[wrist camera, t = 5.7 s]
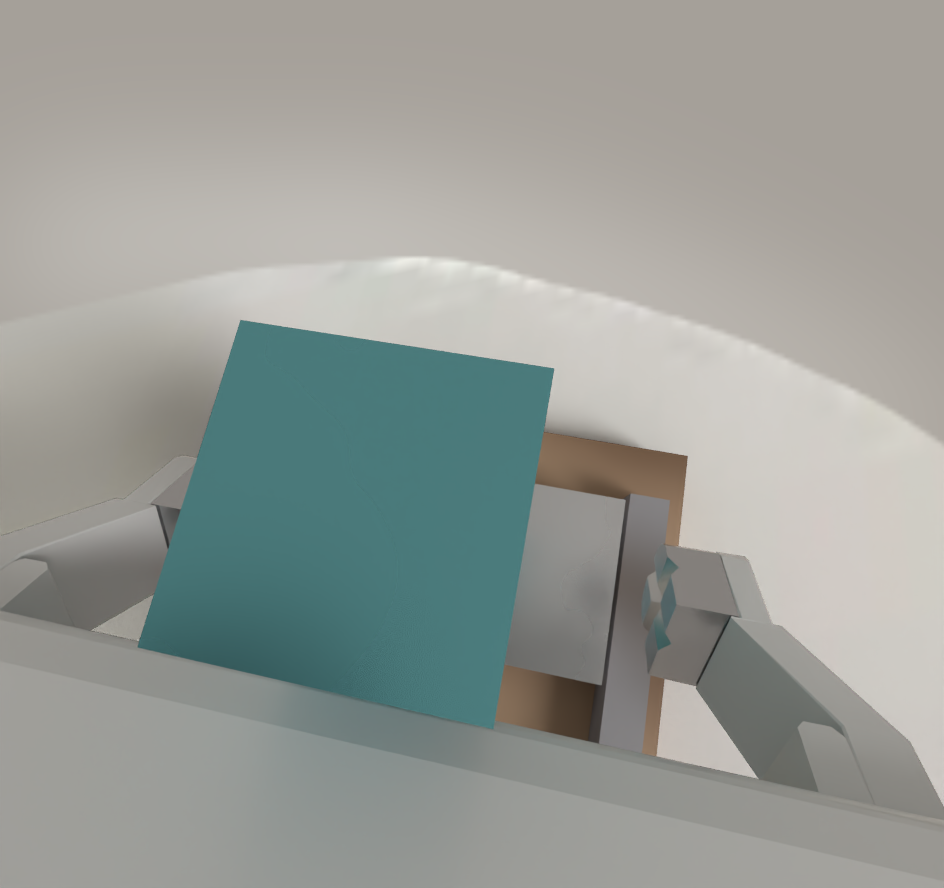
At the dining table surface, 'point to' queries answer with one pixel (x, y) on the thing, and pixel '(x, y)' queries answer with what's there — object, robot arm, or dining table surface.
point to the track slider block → (384, 529)
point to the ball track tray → (625, 670)
